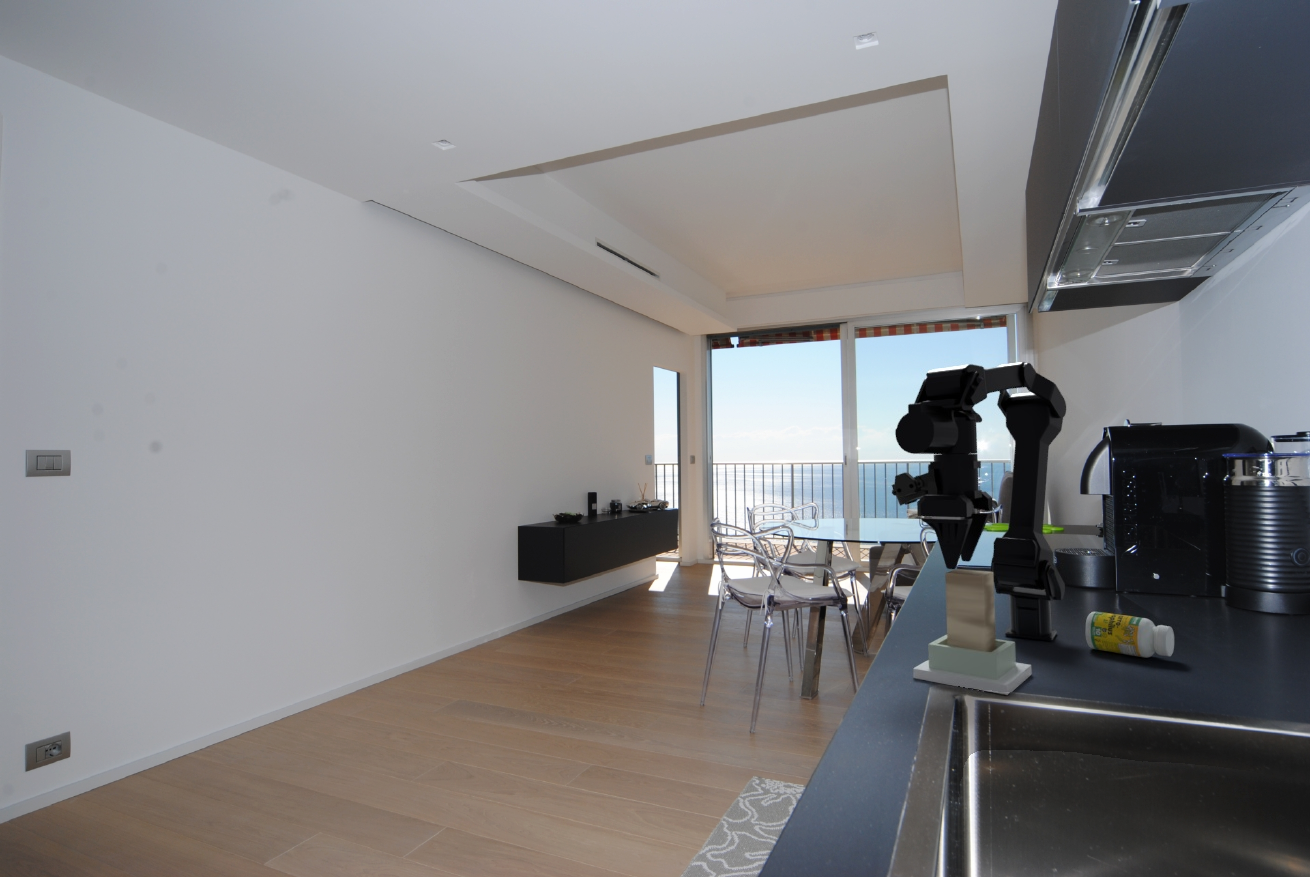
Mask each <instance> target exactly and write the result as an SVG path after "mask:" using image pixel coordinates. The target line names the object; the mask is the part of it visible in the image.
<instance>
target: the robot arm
mask: <svg viewBox="0 0 1310 877" xmlns="http://www.w3.org/2000/svg"><path fill="white" fill-rule="evenodd" d="M925 375H926V378H924V380H922V384H921V386H920V388H919V391H918V393H917V396H916V398H915V400H914V403H909V404H908V405H907V413H906V414H903V416H902V417H901V418H900V419H899V421H898V423H897V426H896V428H895V431H894V433H895V440H896V442H897V444H898V446H899V448H901V450H903V451H904V452H906V453H908V454H913V455H915V454H919V455H921V454H922V455H933V461H929V463H928V465H927V472H925V473H923V474H920V475H915V476H913V475H911V473H909V472H902V473H899V474H897V475H894V484H891V486H892V490H891V495H893V496H895V497H896V499H897V501H898V504H899V506H903V505H905V506H906V505H911V504H913V503H916V506H917V507H916V508H917V510H916V511H917V517H921V518H920V519H921V521H922V522H923V523H926V524H927V526H928V527H930V528H931V529H932V530H934V533H935V535H936V538H937V541H938V542H937V543H938V544H939V548H940V551H941V554H942V558H943V560H944V561H943V562H944V564H945V568H946V569H948V570H956V569H957V566H958V564H959V560H960V558H961V561H962V562H970V561H971V560H972V557H973V556H974V553H975V551H976V549H977V545H978V543H979V541H980V539H981V536H982V535H983V532H984V529H985V527H986V525H987V523H988V521H989V517H991V512H992V511H993V508H994V505H993V497H992V496H991V495H990V494H989V493H987V491H982V489H980V488H979V469H981V468H982V465H981V464H982V461H980V460H978V437H977V436H978V435H977V432H978V430H977V423H982V422H983V418H982V416H981V415H980V414H979V413H977V412H976V410H974V407H975V405H978V404H979V403H981V402H983V401H984V400H986V399H987V398H988V394H991V393H992V394H993V393H997V392H998V393H999V395H998V398H997V403H996V404H997V407H998V410H1000V411H1001V413H1002V415H1003V417H1004V418H1005V428H1006V429H1007V430H1008V432H1009V434H1010V435H1011V437H1012V439H1013V440H1014V455H1013V466H1012V479H1011V480H1012V481H1011V492H1010V493H1011V494H1010V504H1009V516H1008V517H1009V518H1008V527H1007V529H1006V530H1007V531H1006V532H1005V533H1004V534H1003V535H1002V536H1001V537H999V536H998V537H996V538H995V540H994V541H993V552H992V558H991V564H990V572H993V578H994V591H995V593H996V594H999V595H1001V594H1002V595H1008V597H1009V619H1010V621H1009V622H1010V625H1009V627H1008V628H1007V629H1006V631H1005V632H1004V634H1005V635H1004V636H1008V637H1015V638H1022V639H1023V638H1024V639H1034V640H1040V641H1049V642H1050V641H1053V640H1054V638H1055V636H1056V635H1057V629H1053V628H1052V613H1051V608H1052V607H1051V602H1052V601H1063V600H1064V597H1065V593H1066V589H1065V588H1066V584H1065V582H1064V580H1063V578H1062V576H1061V574H1060V573H1059V571H1058V568H1057V567H1056V565H1055V563H1054V552H1053V550H1052V548H1051V546H1050V545H1049V543H1048V541H1047V539H1046V538H1045V536H1044V521H1045V520H1044V519H1045V518H1044V515H1045V507H1046V506H1045V502H1046V491H1047V489H1046V488H1047V479H1048V478H1047V474H1048V462H1049V448H1050V445H1051V444H1052V443H1053V442H1054V440H1055V439H1056V438H1057V436H1058V435H1059V434H1060V433H1061V431H1062V430H1063V429H1062V427H1063V420H1064V418H1065V417H1066V413H1067V402H1066V400H1065V398H1064V396H1063V395H1062V392H1061V391H1060V389H1059V388H1058V386H1057V384H1056V383H1055V382H1053V381H1052V380H1050V379H1049V378H1047V377H1045V376H1043V375H1041V374H1040V373H1038V372H1037V371H1036V370H1035V368H1034V367H1033V365H1032V364H1031V363H1030V362H1025V361H1021V362H1020V361H1019V362H1012V363H1003V364H1000V365H998V366H995V367H989V368H988V367H987V368H985V367H983V365H977V364H972V363H971V364H970V363H969V364H962V365H956V366H954V365H953V366H947V367H940V368H939V367H938V368H933V369H930V370H928V371H927V372H926V374H925ZM1021 388H1022V389H1023V388H1026V389H1027V392H1017V393H1013V394H1011V395H1010V393H1009V392H1008V390H1011V389H1021ZM983 510H984V511H986V512H981V511H983ZM988 511H989V512H988ZM990 511H991V512H990Z"/></svg>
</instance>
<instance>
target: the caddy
mask: <svg viewBox="0 0 1310 877" xmlns="http://www.w3.org/2000/svg"><path fill="white" fill-rule="evenodd" d="M927 648H928V649H927V650H928V660H926V661H924V662H922V663H920V664H919V665H917V666H915V667H913V668H912V670H913V671H912V672H913V673H912V674H913V679H916V680H921V681H922V680H924V681H927V682H933V683H938V684H942V685H947V686H948V685H949V686H953V687H958V686H960V687H959V688H963V687H965V688H964V689H968V688H975V689H981V690H992V691H998V692H1011V693H1012V692H1013V691H1014V690H1015V689H1017V688H1018V687H1019V686H1020V685H1022V684H1023V683H1024V681H1025V682H1026V680H1027V679H1028V678H1029V677H1030V676H1032V672H1033V670H1032V664H1027V663H1022V662H1017V661H1016V660H1017V659H1016V657H1017V655H1016V641H1012V640H1005V639H998V638H996V649H995V650H994V651H992V652H985V651H979V650H972V649H966V648H959V647H953V646H948V644H947V634H945V635H943V636H941V637H939V638H937V639H935V640H934V641H931V642H930V643H928V645H927Z"/></svg>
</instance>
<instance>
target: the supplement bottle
mask: <svg viewBox="0 0 1310 877" xmlns="http://www.w3.org/2000/svg"><path fill="white" fill-rule="evenodd" d="M1086 617H1087V618H1086V622H1085V639H1086V643H1087V645H1088V647H1090V648H1091V649H1094V650H1098V651H1105V652H1110V653H1116V654H1122V655H1127V656H1131V657H1137V658H1139V657H1141V658H1147V659H1148V658H1150V657H1152V656H1153V655H1154V654H1157V655H1159V656H1163V657H1164V656H1165V657H1171V656H1172V654H1173V653H1174V649H1175V633H1174V630H1173V628H1172V626H1169V625H1168V626H1167V625H1163V624H1160V625H1159V624H1158V625H1157V626H1156V625H1155V623H1154V622H1153V621H1152V620H1151V619H1149V618H1145V617H1138V616H1132V615H1125V614H1124V615H1122V614H1116V613H1110V612H1109V613H1108V612H1102V611H1091V613H1089V614H1088V616H1086Z"/></svg>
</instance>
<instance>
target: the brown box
mask: <svg viewBox="0 0 1310 877" xmlns="http://www.w3.org/2000/svg"><path fill="white" fill-rule="evenodd" d="M944 575H945V576H944V578H945V582H944V583H945V606H946V608H945V610H946V635H947V644H948V646H953V647H959V648H966V649H972V650H979V651H985V652H992V651H994V650H995V649H996V639H997V637H996V612H995V611H996V608H995V585H994V578H993V572H991V571H989V570H988V571H986V570H973V569H960V568H956V569H952V570H950V571H947V572H945V573H944Z"/></svg>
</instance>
